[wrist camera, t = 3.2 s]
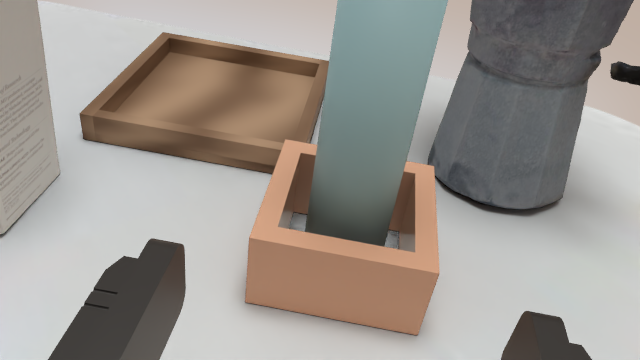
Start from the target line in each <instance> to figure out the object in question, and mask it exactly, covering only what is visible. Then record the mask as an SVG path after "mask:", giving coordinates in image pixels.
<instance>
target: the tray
mask: <svg viewBox="0 0 640 360" xmlns="http://www.w3.org/2000/svg"><path fill="white" fill-rule="evenodd" d="M328 66H329V61H325V60H319V59H314V58H308V57H302V56H296V55H291V54H285V53H279V52H273V51H268V50H262V49H256V48H250V47H245V46H239V45H233V44H227V43H222V42H216V41H210V40H204V39H199V38H193V37H187V36H181V35H176V34H170V33H164V32H163V33H162V34H161V35H160V36H159V37H158V38H157V39H156V40H155V41H154V42H153V43H152V44H150V45H149V46H148V47H147V48H146V49H145V50H144V51H143V52H142V53H141V54H140V55H139V56H138V57H137V58H136V59H135V60H134V61H133V62H132V63H131V64H130V65H129V66H128V67H127V68H126V69H125V70H124V71H123V72H122V73H121V74H120V75H119V76H118V77H117V78H116V79H115V80H114V81H113V82H111V83H110V84H109V85H108V86H107V87H106V88H105V89H104V90H103V91H102V92H101V93H100V94H99V95H98V96H97V97H96V98H95V99H94V100H93V101H92V102H91V103H90V104H89V105H88V106H87V107H86V108H85V109H84V110H83V111H82V112H81V113H80V120H81V126H82V133H83V139H86V140H92V141H97V142H103V143H108V144H114V145H119V146H124V147H130V148H135V149H141V150H146V151H152V152H157V153H163V154H168V155H174V156H179V157H185V158H190V159H195V160H201V161H206V162H212V163H217V164H223V165H228V166H234V167H239V168H245V169H250V170H256V171H261V172H266V173H272V174H273V172H274V169H275V166H276V164H277V161H278V158H279V156H280V153H281V150H282V147H283V145H284V142H285V139H286V140H292V141H298V142H303V143H309V144H310V142H311V138H312V135H313V132H314V128H315V125H316V121H317V118H318V115H319V111H320V108H321V104H322V101H323V98H324V94H325V88H326V80H327V73H328Z"/></svg>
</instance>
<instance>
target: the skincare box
mask: <svg viewBox="0 0 640 360" xmlns="http://www.w3.org/2000/svg"><path fill="white" fill-rule="evenodd" d="M59 174H60V168H59V162H58V154H57V147H56V139H55V131H54V124H53V116H52V109H51V101H50V94H49V86H48V78H47V71H46V63H45V55H44V47H43V39H42V32H41V25H40V18H39V11H38V3H37V0H0V234H3V233H5V231H6V230H7V229H8V228H9V227H10V226H11V225H12V224H13V223H14V222H15V221H16V220H17V219H18V218H19V217H20V216H21V215H22V214H23V213H24V211H25V210H26V209H27V208H28V207H29V206H30V205H31V204H32V203H33V202H34V201H35V200H36V199H37V198H38V197H39V196H40V195H41V194H42V193H43V192H44V191H45V189H46V188H47V187H48V186H49V185H50V184H51V183H52V182H53V181H54V180H55V179H56V177H57V176H58V175H59Z"/></svg>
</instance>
